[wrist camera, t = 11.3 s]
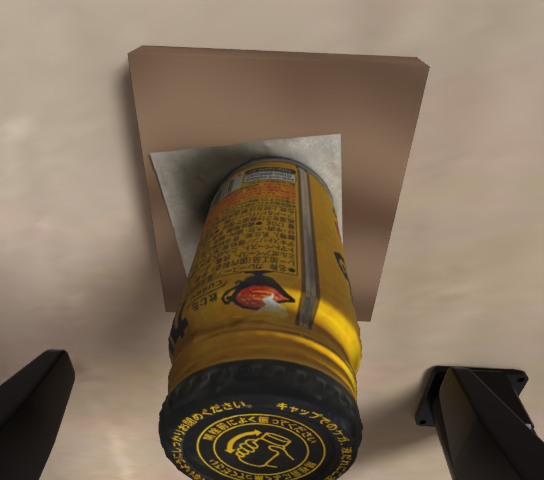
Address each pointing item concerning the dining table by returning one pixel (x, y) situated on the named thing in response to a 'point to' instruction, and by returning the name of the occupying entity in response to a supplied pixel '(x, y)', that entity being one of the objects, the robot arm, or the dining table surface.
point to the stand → (285, 133)
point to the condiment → (261, 313)
